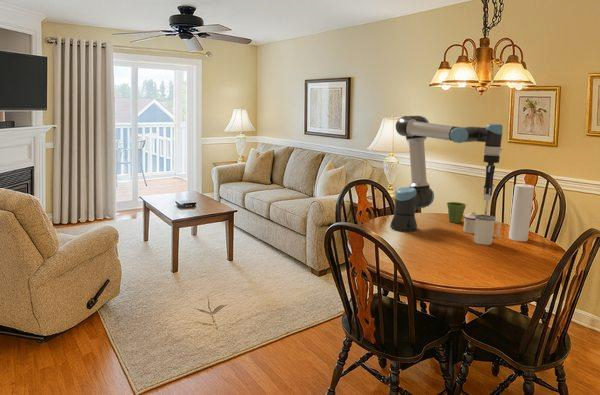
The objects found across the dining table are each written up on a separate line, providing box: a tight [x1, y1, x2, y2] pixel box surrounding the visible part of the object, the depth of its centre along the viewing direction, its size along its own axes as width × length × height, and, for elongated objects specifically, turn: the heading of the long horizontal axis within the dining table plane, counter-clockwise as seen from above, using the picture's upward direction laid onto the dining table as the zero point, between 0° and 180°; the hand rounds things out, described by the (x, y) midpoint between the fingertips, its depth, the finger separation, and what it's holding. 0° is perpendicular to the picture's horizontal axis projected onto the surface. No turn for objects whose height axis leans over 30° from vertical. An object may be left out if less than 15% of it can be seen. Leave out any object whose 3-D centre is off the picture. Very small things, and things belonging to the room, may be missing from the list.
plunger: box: [483, 185, 494, 218], centre depth 242 cm, size 6×6×20 cm
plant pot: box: [446, 201, 468, 224], centre depth 287 cm, size 12×12×11 cm
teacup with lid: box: [462, 211, 478, 235], centre depth 266 cm, size 12×9×12 cm
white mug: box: [473, 214, 501, 246], centre depth 244 cm, size 12×9×14 cm
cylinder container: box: [508, 183, 535, 242], centre depth 251 cm, size 9×9×30 cm
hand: (487, 199), depth 242 cm, fingers open, 5 cm apart
